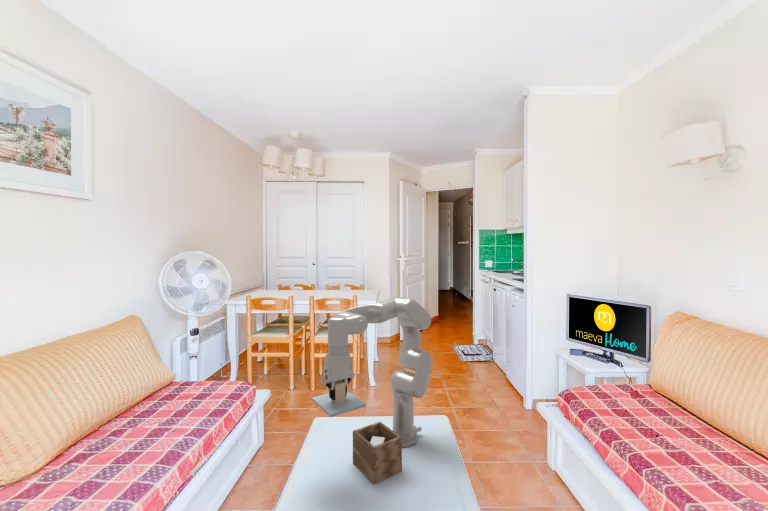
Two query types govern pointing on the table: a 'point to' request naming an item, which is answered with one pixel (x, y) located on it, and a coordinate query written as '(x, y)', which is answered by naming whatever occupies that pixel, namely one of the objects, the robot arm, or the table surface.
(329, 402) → the lid
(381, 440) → the small box
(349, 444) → the table surface
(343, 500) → the table surface
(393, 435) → the crate
